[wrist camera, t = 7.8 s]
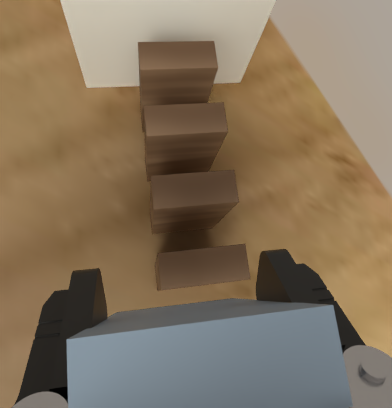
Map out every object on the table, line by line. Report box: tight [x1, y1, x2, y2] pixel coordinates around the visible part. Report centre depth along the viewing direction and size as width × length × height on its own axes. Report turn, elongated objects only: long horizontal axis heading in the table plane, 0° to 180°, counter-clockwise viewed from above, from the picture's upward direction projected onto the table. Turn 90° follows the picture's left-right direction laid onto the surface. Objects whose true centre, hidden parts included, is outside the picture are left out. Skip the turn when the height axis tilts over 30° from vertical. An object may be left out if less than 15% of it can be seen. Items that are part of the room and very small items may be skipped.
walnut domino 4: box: [155, 244, 250, 291], centre depth 24 cm, size 2×5×9 cm, turn 97°
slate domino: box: [67, 298, 353, 408], centre depth 11 cm, size 2×5×9 cm, turn 97°
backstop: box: [60, 0, 276, 88], centre depth 28 cm, size 3×14×10 cm, turn 97°
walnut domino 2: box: [144, 102, 228, 181], centre depth 26 cm, size 2×5×9 cm, turn 97°
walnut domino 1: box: [138, 41, 218, 132], centre depth 27 cm, size 2×5×9 cm, turn 97°
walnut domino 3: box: [150, 170, 239, 234], centre depth 25 cm, size 2×5×9 cm, turn 97°
